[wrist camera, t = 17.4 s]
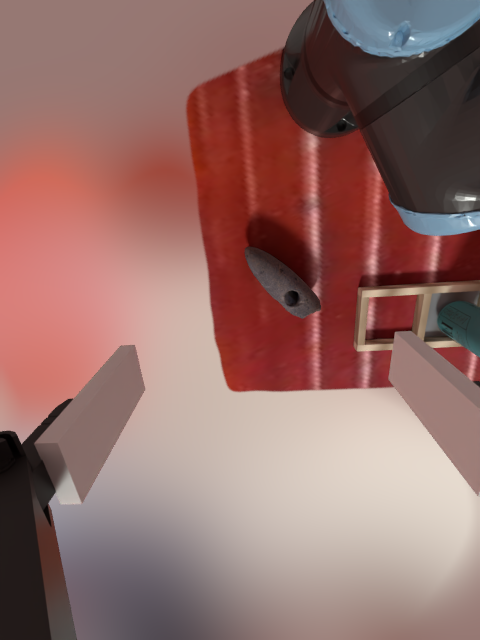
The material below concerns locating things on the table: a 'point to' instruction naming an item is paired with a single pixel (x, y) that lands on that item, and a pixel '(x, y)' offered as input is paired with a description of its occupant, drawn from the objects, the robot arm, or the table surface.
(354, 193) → the table surface
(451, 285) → the bottle rack
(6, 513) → the robot arm
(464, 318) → the beverage bottle
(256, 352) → the table surface
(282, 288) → the perforated stone tool
